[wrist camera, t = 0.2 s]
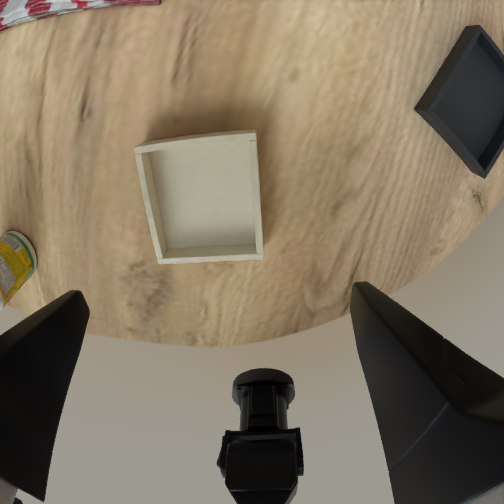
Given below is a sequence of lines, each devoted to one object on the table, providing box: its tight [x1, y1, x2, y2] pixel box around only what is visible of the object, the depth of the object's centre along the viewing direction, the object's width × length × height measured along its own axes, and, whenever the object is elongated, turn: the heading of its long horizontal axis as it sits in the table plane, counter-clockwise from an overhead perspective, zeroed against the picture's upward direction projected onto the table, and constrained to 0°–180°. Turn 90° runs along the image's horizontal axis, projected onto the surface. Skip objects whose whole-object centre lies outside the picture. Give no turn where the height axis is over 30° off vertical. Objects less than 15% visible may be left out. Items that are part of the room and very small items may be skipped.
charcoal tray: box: [414, 25, 504, 179], centre depth 15 cm, size 10×8×2 cm
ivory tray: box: [134, 129, 264, 264], centre depth 21 cm, size 9×8×2 cm
